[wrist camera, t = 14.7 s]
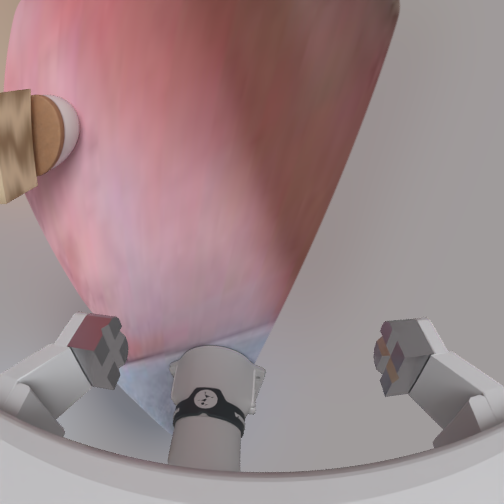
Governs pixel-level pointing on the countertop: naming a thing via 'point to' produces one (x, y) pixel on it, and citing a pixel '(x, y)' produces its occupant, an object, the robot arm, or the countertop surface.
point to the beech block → (16, 145)
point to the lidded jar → (52, 131)
